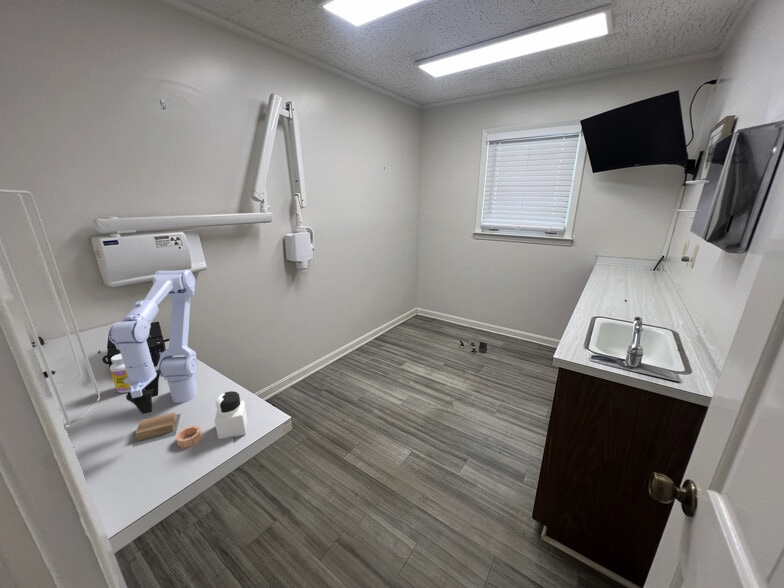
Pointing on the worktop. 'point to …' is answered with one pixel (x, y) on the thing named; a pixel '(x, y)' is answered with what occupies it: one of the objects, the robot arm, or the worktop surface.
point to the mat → (158, 437)
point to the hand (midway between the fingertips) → (150, 403)
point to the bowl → (189, 441)
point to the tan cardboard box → (156, 426)
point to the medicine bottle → (230, 415)
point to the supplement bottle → (119, 374)
